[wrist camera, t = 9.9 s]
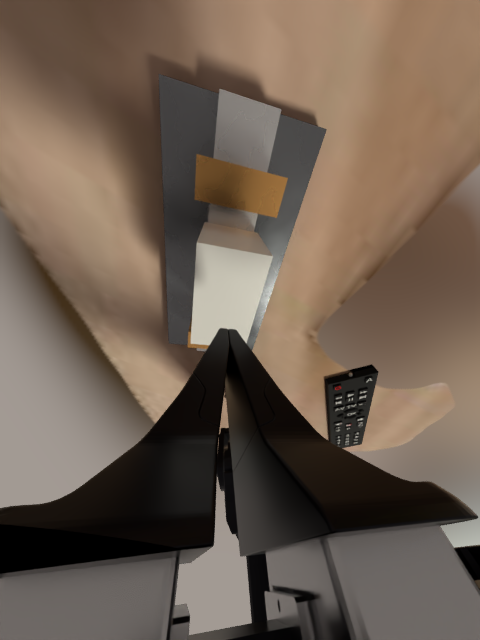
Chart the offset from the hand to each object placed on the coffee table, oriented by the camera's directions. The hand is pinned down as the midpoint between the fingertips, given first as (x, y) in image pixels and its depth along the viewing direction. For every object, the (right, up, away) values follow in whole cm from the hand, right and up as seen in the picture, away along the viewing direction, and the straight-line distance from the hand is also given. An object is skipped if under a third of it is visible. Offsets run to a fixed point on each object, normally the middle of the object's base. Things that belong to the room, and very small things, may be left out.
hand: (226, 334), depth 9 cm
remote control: (+23, -19, +30) cm, 42 cm away
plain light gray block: (-1, +5, +7) cm, 8 cm away
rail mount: (-1, +6, +8) cm, 10 cm away
